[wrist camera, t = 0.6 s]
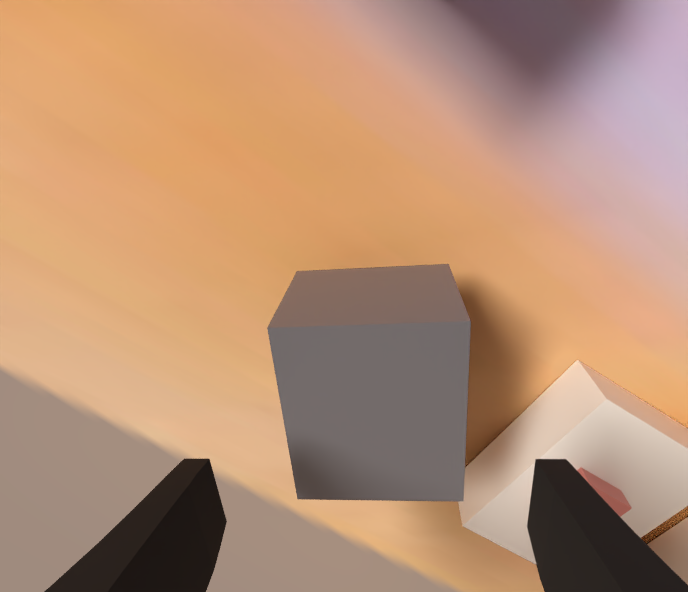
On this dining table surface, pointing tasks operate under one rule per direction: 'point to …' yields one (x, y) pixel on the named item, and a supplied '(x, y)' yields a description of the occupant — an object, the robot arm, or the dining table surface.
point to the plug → (374, 382)
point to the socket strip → (585, 464)
